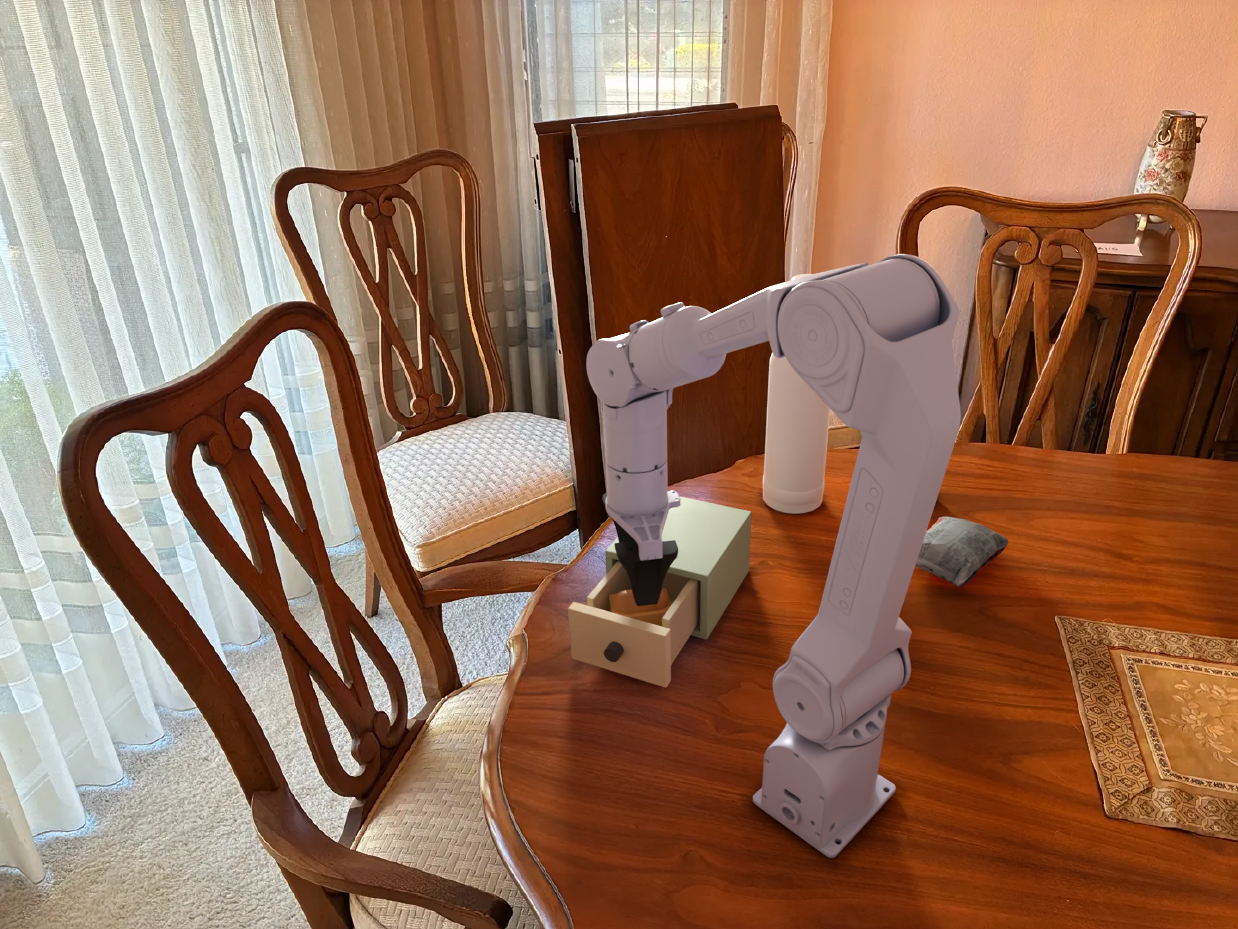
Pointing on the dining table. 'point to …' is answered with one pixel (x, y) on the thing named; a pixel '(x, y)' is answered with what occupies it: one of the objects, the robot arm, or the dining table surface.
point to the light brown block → (639, 607)
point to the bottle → (794, 441)
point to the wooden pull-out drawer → (634, 629)
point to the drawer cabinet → (706, 553)
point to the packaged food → (958, 549)
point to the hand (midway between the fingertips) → (640, 579)
